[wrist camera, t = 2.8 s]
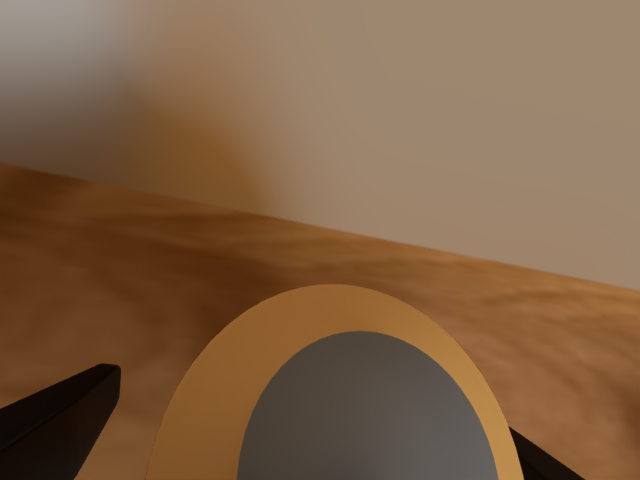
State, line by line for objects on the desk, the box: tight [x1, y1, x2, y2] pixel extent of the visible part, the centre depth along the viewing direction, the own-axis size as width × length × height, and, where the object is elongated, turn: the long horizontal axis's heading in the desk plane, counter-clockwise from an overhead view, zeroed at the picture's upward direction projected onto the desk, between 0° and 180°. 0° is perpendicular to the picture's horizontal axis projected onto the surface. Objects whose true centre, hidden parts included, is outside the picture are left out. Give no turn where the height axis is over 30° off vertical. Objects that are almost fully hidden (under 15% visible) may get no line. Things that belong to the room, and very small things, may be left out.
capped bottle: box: [145, 284, 524, 480], centre depth 8 cm, size 6×6×13 cm
